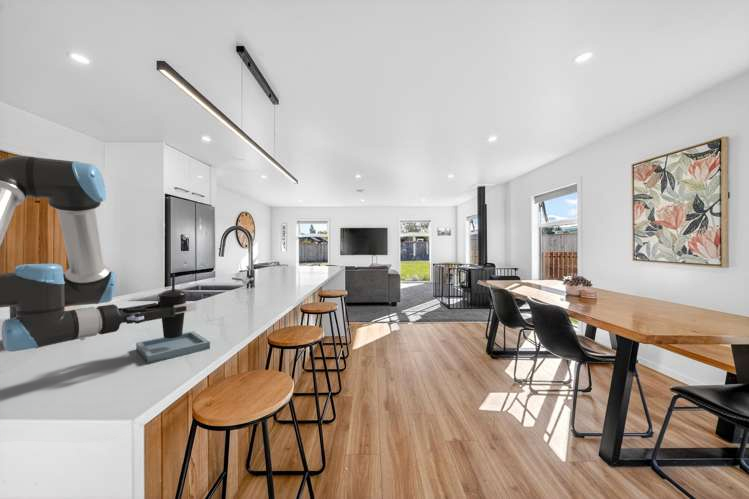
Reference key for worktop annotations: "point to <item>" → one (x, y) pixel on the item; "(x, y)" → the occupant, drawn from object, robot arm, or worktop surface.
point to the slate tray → (171, 347)
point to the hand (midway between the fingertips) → (190, 304)
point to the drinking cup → (175, 324)
